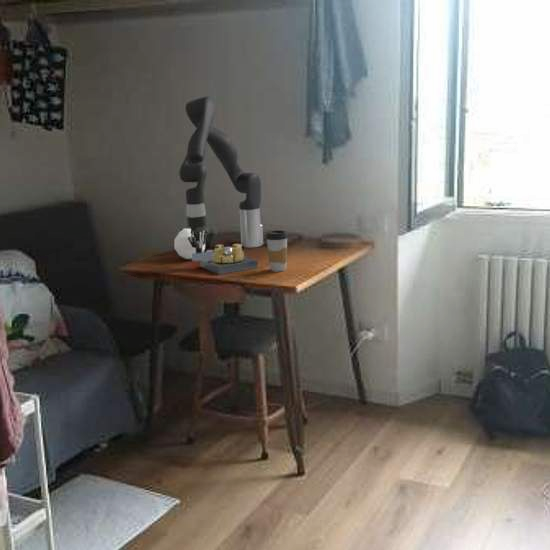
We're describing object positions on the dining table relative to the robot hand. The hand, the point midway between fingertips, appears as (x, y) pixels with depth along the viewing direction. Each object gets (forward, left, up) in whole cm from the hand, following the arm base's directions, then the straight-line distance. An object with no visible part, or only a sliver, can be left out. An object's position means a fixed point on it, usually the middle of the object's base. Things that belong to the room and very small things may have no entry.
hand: (199, 256), depth 293 cm
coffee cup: (-22, +25, -5) cm, 34 cm away
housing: (-9, +8, -4) cm, 13 cm away
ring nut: (-5, +6, -1) cm, 8 cm away
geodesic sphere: (-4, -18, -5) cm, 19 cm away
